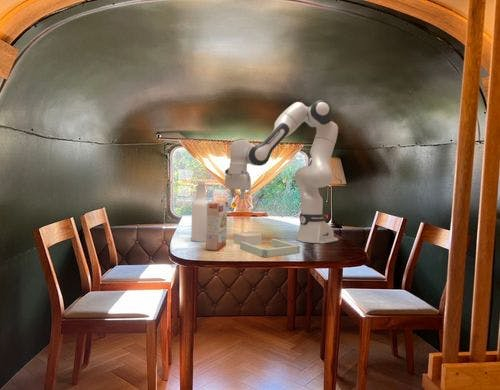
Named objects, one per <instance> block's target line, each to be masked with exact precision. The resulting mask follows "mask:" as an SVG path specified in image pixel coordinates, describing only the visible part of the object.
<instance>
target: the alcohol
mask: <svg viewBox="0 0 500 390" xmlns="http://www.w3.org/2000/svg"><path fill="white" fill-rule="evenodd" d="M206 193H207V192H206V180H197V186H196V194H195V195H196V197H195V199H194V200H193V202H192V204H191V236H190V237H191V241H192V242H195V243H205V242H206V233H207V203H210V202H209V201H208V200H207V197H206Z"/></svg>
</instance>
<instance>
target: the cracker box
mask: <svg viewBox="0 0 500 390" xmlns="http://www.w3.org/2000/svg"><path fill="white" fill-rule="evenodd" d="M228 203H229V201H225V200H220V201H219V200H216V201H211V202H209V203H207V233H206V243H205V250H206V251H215V252H216V251H219V250H221V249H222V248H223V247H225V246H226V245H227V227H228V205H229V204H228Z"/></svg>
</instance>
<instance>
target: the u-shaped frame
mask: <svg viewBox="0 0 500 390" xmlns="http://www.w3.org/2000/svg"><path fill="white" fill-rule="evenodd" d="M270 245H271V246H274V248H263V247H260V246H258V245H251V244H248V243H245V242H240V244H239V249H240V248H241V249H240V250H243V251H245V250H246V252H248V253H251V254H254V255H256V256H259V257H262V258H264V259H265V258H270V257H278V256H288V255H294V254H300V251H301V247H300V245H297V244H293V243H291V242H288V241H284V240H280V239H276V238H271V240H270Z"/></svg>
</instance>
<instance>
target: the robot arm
mask: <svg viewBox="0 0 500 390" xmlns="http://www.w3.org/2000/svg"><path fill="white" fill-rule="evenodd" d="M332 120H333V112H332V105H331V104H330V102H328V101H327V100H324V99H319V100H316V101H314V102H313V103H312V104H311V105H310V106H306V105H305V104H304V102H301V101H300V102H299V101H296V102H293V103H292V104H291V105H289V106H288V107H287V108H286V109H285V110H284V111H282V113H281V114H280V115H279V116H278V117H277V119H276V120H275V121H274V124H273V125H274V127H273V130H272V132H271V133H270V134H269V135H268V136H267V137H266V138H265V139H264V140H263V141H262V142H261V143H258V144H256V145H254V144H252V143H250V142H249V141H247V139H245V138H239V139H236V140H233V141H232V142H231V143H230V150H229V157H230V162H229V167H227V168H226V169H225V170H224V174H225V176H224V186H225V189H229V192H230V197H231V198H232V199H234V198H236V193H235V191H236V190H239V191H240V194H239V199H240V200H242V199H244V198H245V194H246V191H251V188H252V181H251V180H252V179H251V176H250V173H249V171H248V164H249V165H251V166H258V167H260V166H264V165H266V164H267V163H268V161H269V160H270V157H271V154H272V152H274V149H276V148H277V147H278V145H279V144H280V143H281V142H282V141H283V140H284V139H285V138H287V137H288V136H290V135H291V134H292V133H294V132H295V131H296V130H297V129H298V128H299V127H300V126H301V125H302V124H303V125H305V126H306V127H308V128H311V129H316V134H315V136H314V139H313V142H312V145H311V148H310V149H309V150H310V151H309V155H310V156H311V163H310V165H305V166H302V167H299V168H298V169H296V171H295V172H294V181H295V182H296V183H297V185H298V188H299V192H300V201H301V202H300V213H299V222H300V223H299V228H298V234H297V238H296V240H297V241H298V242H303V243H309V244H310V243H312V244H313V243H314V244H326V243H333V242H337V241H339V238H338V237H335V236H334V235H335V233H334V232H335V231H334V229H333V227H331V226H330V224H328V223H327V222H326V221H325V219H328V218H329V215H328V214H323V205H324V203H323V202H324V201H323V197H322V196H321V194H320V191H319V188H324V187H327V186H329V185H331V184H332V183H333V179H334V173H333V171H332V169H331V159H332V155H333V151H334V149H335V145H336V143H337V138H338V135H339V127H338V124H337V123H335V122H334V121H332Z"/></svg>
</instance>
